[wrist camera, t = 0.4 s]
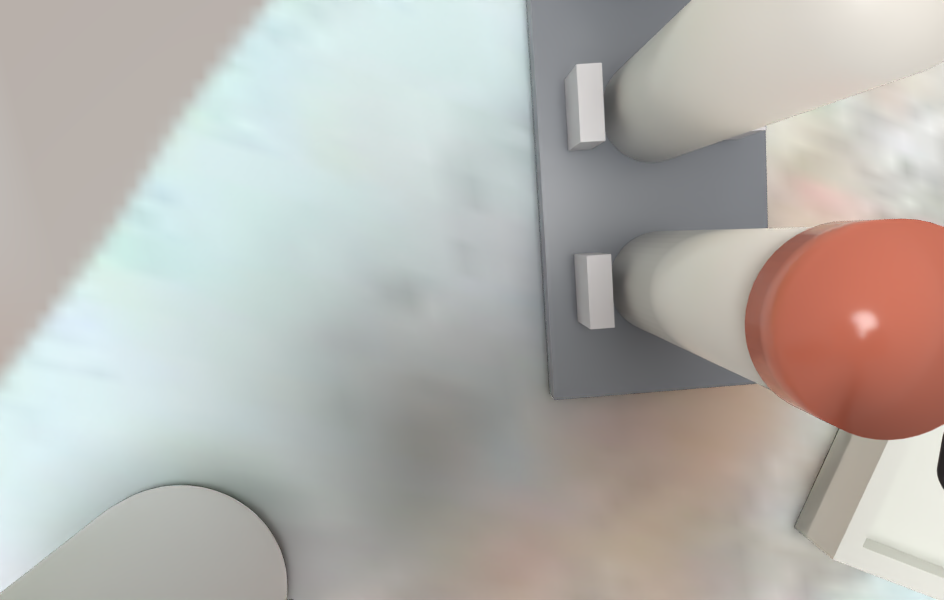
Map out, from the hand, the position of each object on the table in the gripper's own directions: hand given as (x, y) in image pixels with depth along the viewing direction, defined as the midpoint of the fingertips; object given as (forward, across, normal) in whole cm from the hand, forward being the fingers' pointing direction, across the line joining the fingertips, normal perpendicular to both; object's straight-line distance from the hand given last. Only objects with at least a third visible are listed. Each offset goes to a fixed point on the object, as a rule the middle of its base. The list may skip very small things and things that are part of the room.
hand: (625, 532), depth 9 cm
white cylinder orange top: (+14, -6, +4) cm, 15 cm away
